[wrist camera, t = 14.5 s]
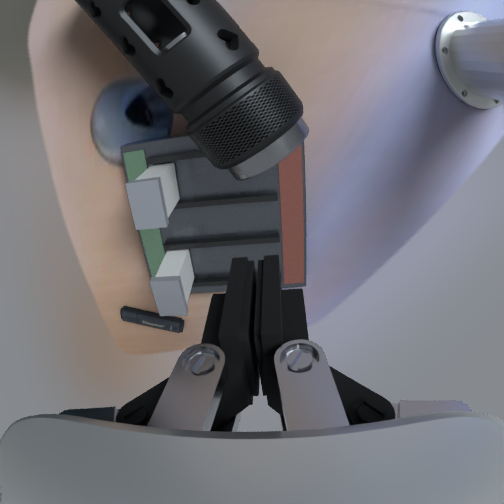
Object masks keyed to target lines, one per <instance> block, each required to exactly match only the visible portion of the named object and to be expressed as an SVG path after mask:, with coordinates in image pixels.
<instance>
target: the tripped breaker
mask: <svg viewBox="0 0 504 504" xmlns="http://www.w3.org/2000/svg"><path fill="white" fill-rule="evenodd" d="M193 281H194V273H193V268H192V263H191V258H190V253H189V249H177V250H167V252H166V254H165V257H164V259H163V261H162V263H161V265H160V267H159V270H158V272H157V274H156V276H155V277H151V280H150V285H151V289H152V292H153V295H154V298H155V302H156V305H157V308H158V311H159V314H160V316H186V315H187V314H188V307H187V303H188V299H189V295H190V292H191V288H192V284H193Z"/></svg>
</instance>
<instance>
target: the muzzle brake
mask: <svg viewBox="0 0 504 504" xmlns="http://www.w3.org/2000/svg"><path fill="white" fill-rule="evenodd" d="M75 1H76V2H77V3H78V4H79V5H80V6H81V7H82V9H83V10H84V11H85V12H86V13H87V14H88V15H89V16H90V17H91V18H92V20H93V21H94V22H95V23H96V24H97V25H98V26H99V27H100V29H101V30H102V31H103V32H104V33H105V34H106V35H107V36H108V38H109V39H110V40H111V41H112V42H113V43H114V44H115V45H116V47H117V48H118V49H119V50H120V51H121V52H122V53H123V55H124V56H125V57H126V58H127V59H128V60H129V61H130V63H131V64H132V65H133V66H134V67H135V68H136V69H137V71H138V72H139V73H140V74H141V75H142V76H143V78H144V79H145V80H146V81H147V82H148V83H149V85H150V86H151V87H152V88H153V89H154V90H155V92H156V93H157V94H158V95H159V96H160V97H161V99H162V100H163V101H164V102H165V103H166V104H167V106H168V107H169V108H170V109H171V110H172V112H174V113H179V114H183V116H184V117H185V118H186V119H187V120H188V122H189V124H188V126H187V128H186V129H187V130H188V131H189V137H190V138H191V139H192V141H193V142H194V143H195V144H196V145H197V147H198V148H199V149H200V150H201V151H202V153H203V154H204V155H205V156H206V158H207V159H208V160H209V161H210V162H211V164H212V165H213V166H214V167H216V168H219V169H222V170H225V169H227V170H228V171H229V172H230V173H231V175H232V176H233V177H234V178H235V179H236V180H239V181H242V180H247V179H249V178H252V177H255V176H257V175H259V174H261V173H263V172H265V171H267V170H268V169H270V168H271V167H273V166H275V165H276V164H278V163H279V162H280V161H282V160H283V159H284V158H286V157H287V156H288V155H289V154H291V153H292V152H293V151H294V150H295V149H296V148H297V147H298V146H299V145H300V144H301V143H302V142H303V141H304V139H305V138H306V137H307V135H308V133H309V128H308V126H307V124H306V123H305V121H304V120H303V118H302V117H301V116H302V115H303V105H302V102H301V101H300V99H299V98H298V96H297V95H296V94H295V92H294V91H293V89H292V88H291V87H290V85H289V84H288V82H287V81H286V80H285V78H284V77H283V76H282V74H281V73H280V72H279V71H276V70H274V69H273V67H266V68H265V67H264V66H263V64H262V63H261V62H260V61H259V59H258V56H259V51H258V49H257V47H256V46H255V45H254V44H253V43H252V42H251V41H250V40H249V38H248V37H247V36H246V35H245V33H244V32H243V31H242V30H241V29H240V28H239V26H238V24H237V23H236V22H235V21H234V20H233V19H232V17H231V16H230V15H229V14H228V13H227V12H226V11H225V9H224V8H223V7H222V6H221V5H220V4H219V3H218V2H217V1H216V0H75ZM125 11H127V12H131V13H130V17H129V16H128V15H127V14H126V12H125ZM152 42H154V43H159V49H158V48H157V47H156V46H155V45H154V44H153V43H152Z"/></svg>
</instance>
